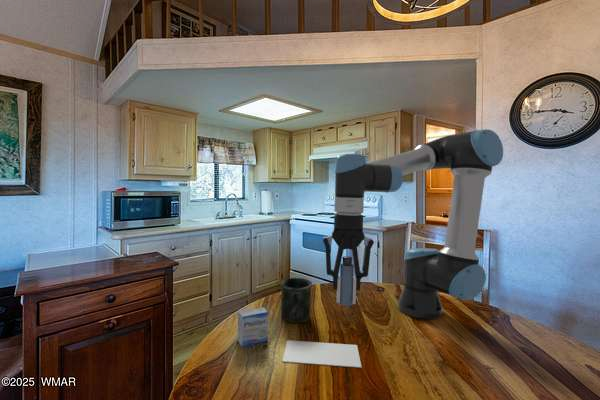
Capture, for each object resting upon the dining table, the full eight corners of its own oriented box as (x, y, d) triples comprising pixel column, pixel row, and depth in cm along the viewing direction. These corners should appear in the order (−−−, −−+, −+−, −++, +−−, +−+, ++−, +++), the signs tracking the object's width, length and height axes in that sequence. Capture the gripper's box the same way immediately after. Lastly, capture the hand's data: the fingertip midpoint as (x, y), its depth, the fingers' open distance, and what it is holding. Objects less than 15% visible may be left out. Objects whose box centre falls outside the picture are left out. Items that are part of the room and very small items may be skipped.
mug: (310, 310, 104) (311, 277, 103) (312, 330, 89) (313, 292, 88) (281, 309, 104) (281, 277, 103) (277, 329, 89) (278, 291, 89)
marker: (351, 301, 77) (353, 256, 76) (352, 306, 74) (354, 259, 73) (339, 300, 77) (340, 255, 77) (339, 305, 74) (341, 258, 73)
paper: (356, 345, 81) (356, 345, 81) (361, 367, 71) (361, 366, 71) (287, 340, 82) (287, 340, 82) (282, 361, 72) (282, 361, 72)
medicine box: (241, 347, 78) (241, 317, 78) (237, 340, 82) (237, 310, 82) (268, 341, 82) (268, 312, 82) (263, 334, 86) (263, 306, 86)
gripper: (317, 213, 71) (314, 305, 72) (383, 216, 70) (380, 309, 71) (317, 211, 79) (315, 294, 80) (377, 213, 78) (374, 298, 78)
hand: (345, 301), depth 75 cm, fingers closed on marker, 3 cm apart
